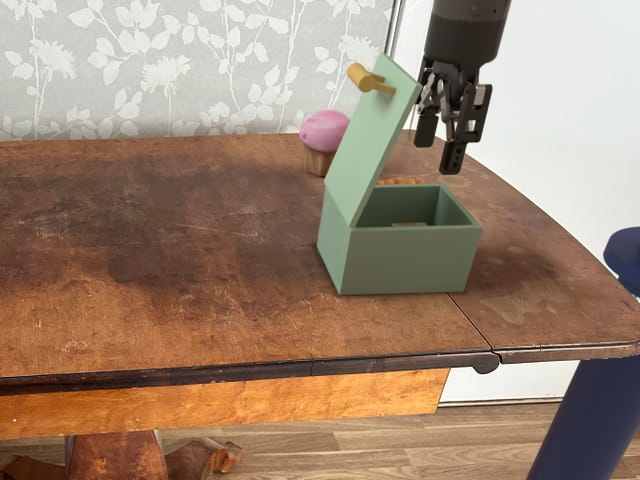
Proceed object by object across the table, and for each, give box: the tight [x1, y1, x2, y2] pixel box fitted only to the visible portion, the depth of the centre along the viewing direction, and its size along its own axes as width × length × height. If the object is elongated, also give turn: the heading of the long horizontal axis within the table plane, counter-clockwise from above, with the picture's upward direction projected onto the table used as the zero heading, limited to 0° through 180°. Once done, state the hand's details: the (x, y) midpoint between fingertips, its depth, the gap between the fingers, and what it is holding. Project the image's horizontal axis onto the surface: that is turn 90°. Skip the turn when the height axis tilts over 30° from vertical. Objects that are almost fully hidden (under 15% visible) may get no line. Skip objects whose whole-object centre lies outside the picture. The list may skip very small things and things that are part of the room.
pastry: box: [375, 176, 427, 185], centre depth 106 cm, size 9×7×4 cm
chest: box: [316, 183, 484, 296], centre depth 89 cm, size 16×13×9 cm
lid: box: [323, 51, 423, 227], centre depth 81 cm, size 16×13×5 cm
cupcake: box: [298, 109, 351, 177], centre depth 114 cm, size 9×9×10 cm
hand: (434, 159), depth 83 cm, fingers open, 8 cm apart
